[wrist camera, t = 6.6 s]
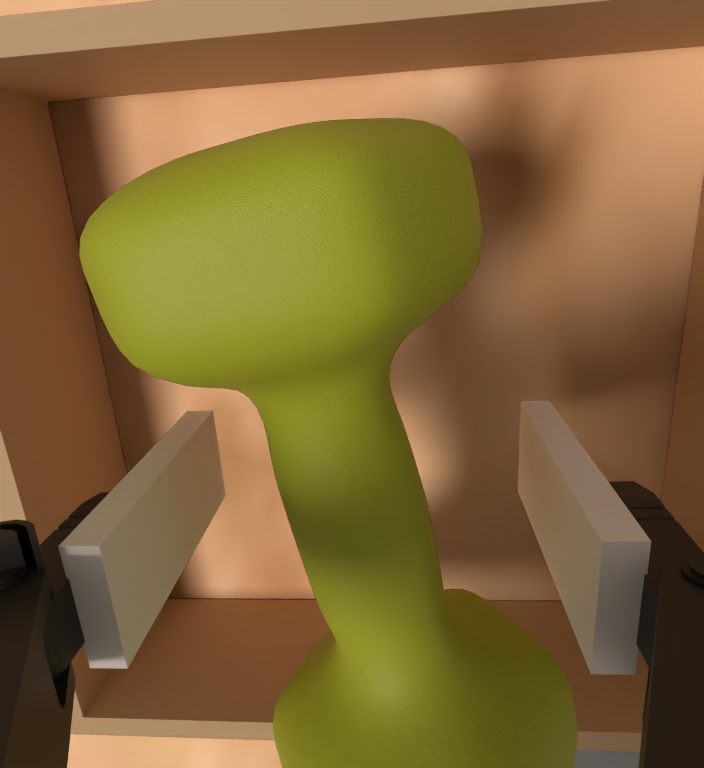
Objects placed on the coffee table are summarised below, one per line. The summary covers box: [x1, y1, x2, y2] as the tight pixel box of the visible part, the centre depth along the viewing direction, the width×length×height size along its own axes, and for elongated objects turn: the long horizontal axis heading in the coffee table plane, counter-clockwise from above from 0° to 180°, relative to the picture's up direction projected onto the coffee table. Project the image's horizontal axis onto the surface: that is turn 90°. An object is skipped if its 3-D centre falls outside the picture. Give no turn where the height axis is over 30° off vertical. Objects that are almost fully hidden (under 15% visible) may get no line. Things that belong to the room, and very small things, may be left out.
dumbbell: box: [79, 118, 578, 768], centre depth 13 cm, size 16×8×7 cm, turn 14°
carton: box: [0, 0, 704, 752], centre depth 18 cm, size 28×22×6 cm
